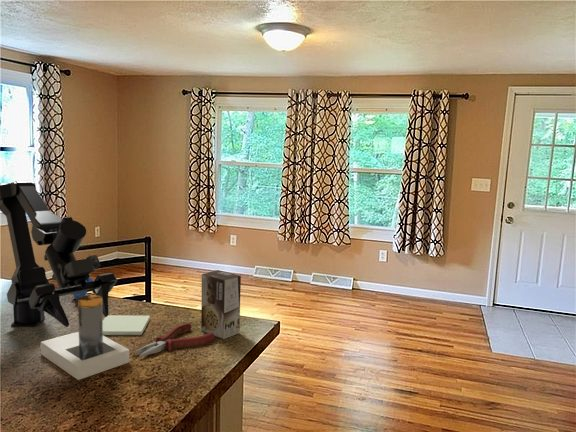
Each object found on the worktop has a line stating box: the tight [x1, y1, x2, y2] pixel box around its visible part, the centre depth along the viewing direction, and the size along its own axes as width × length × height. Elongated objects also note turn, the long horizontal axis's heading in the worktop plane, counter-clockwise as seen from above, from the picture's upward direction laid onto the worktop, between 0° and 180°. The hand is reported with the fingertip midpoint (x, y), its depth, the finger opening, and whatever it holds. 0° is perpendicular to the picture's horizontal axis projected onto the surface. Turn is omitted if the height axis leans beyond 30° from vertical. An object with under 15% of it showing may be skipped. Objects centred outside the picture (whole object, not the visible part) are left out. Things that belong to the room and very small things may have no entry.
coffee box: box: [200, 269, 242, 340], centre depth 127 cm, size 9×6×16 cm
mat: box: [103, 314, 151, 336], centre depth 129 cm, size 12×12×1 cm
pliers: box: [132, 323, 215, 358], centre depth 118 cm, size 12×20×3 cm, turn 141°
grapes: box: [72, 276, 94, 301], centre depth 149 cm, size 12×7×12 cm, turn 37°
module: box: [77, 294, 104, 361], centre depth 106 cm, size 5×5×15 cm
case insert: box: [40, 331, 130, 381], centre depth 109 cm, size 18×12×3 cm, turn 50°
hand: (88, 320), depth 107 cm, fingers open, 9 cm apart
